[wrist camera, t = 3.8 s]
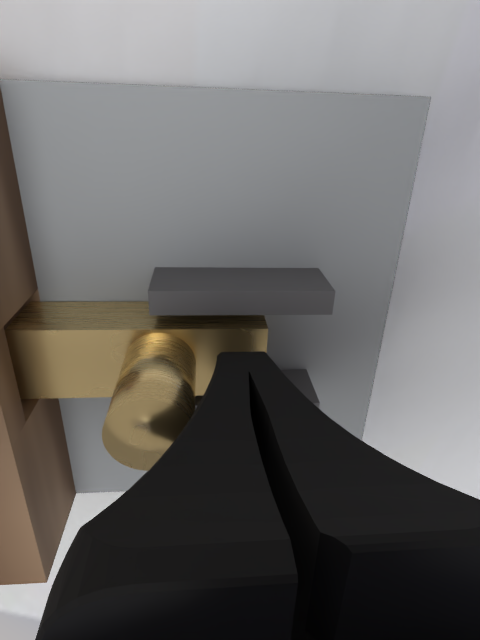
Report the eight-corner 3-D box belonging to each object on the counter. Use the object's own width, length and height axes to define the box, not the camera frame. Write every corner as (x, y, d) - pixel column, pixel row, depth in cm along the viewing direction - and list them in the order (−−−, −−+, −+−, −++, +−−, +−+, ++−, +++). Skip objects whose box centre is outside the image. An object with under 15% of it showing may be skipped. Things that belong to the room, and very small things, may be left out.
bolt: (259, 301, 14) (287, 392, 9) (256, 360, 15) (279, 469, 10) (30, 301, 13) (-58, 399, 9) (42, 363, 14) (-31, 480, 10)
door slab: (406, 97, 13) (471, 94, 10) (342, 455, 19) (369, 522, 16) (22, 82, 12) (-41, 73, 9) (85, 464, 18) (61, 537, 15)
